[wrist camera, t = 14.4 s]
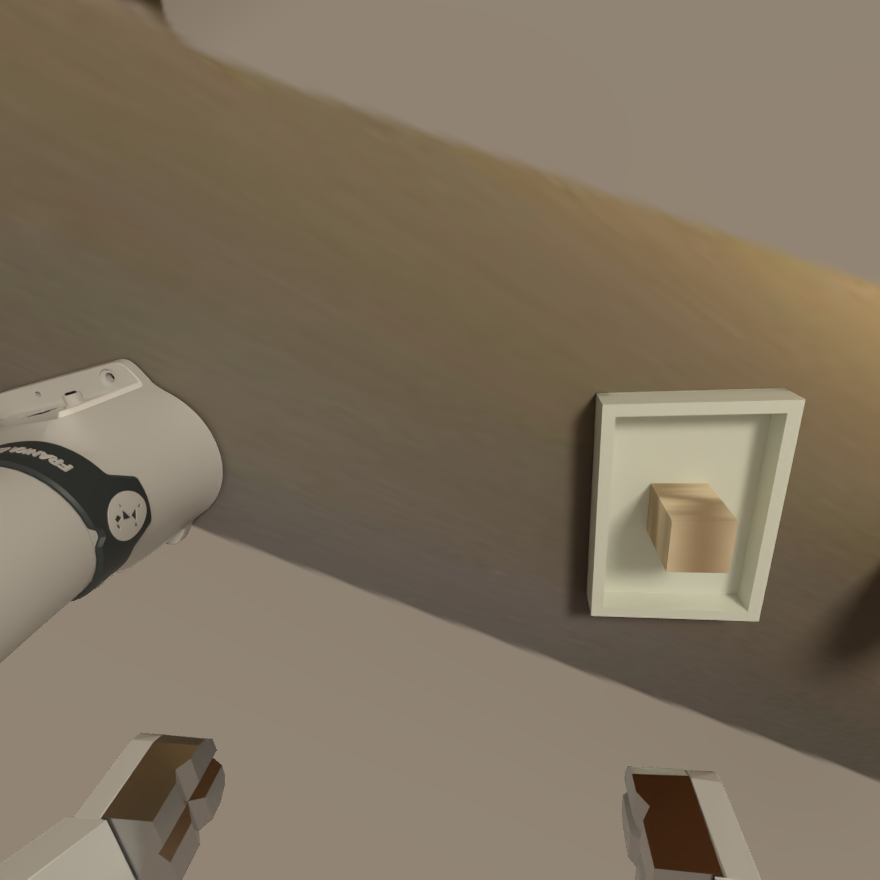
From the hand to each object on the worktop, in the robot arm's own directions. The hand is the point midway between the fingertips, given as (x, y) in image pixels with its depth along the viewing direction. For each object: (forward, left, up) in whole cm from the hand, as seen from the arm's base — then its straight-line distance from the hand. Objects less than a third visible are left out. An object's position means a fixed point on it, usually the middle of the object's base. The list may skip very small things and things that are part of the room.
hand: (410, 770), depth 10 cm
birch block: (+16, -13, -33) cm, 39 cm away
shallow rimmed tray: (+16, -13, -34) cm, 40 cm away
